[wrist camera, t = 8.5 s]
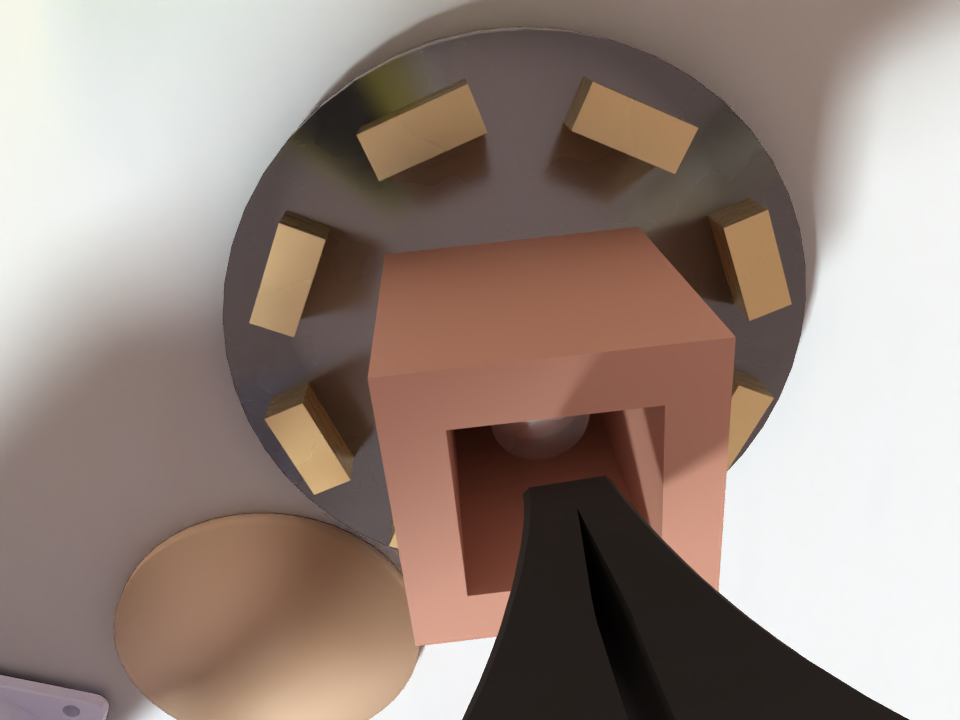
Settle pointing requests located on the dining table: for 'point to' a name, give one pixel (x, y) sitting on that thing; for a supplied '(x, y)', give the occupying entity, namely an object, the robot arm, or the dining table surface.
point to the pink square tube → (541, 406)
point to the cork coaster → (266, 623)
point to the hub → (493, 230)
